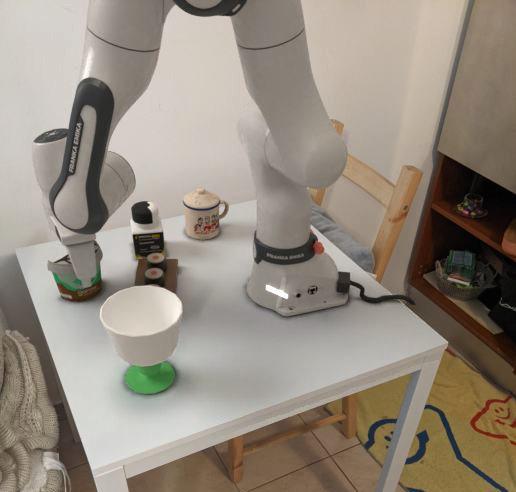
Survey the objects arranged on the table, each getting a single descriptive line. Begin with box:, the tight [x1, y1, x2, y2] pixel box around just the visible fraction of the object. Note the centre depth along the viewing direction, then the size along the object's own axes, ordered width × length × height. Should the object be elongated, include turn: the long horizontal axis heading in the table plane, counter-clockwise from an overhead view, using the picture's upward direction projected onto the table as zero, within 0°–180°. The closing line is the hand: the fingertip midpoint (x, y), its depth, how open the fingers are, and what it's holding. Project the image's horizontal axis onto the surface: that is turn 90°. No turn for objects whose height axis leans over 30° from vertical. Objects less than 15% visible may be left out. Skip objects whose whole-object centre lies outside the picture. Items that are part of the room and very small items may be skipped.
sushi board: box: [133, 253, 179, 295], centre depth 120 cm, size 9×20×5 cm, turn 4°
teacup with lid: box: [182, 187, 230, 241], centre depth 138 cm, size 12×9×12 cm
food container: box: [46, 239, 104, 303], centre depth 117 cm, size 12×6×10 cm, turn 141°
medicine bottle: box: [129, 200, 166, 260], centre depth 130 cm, size 7×7×12 cm
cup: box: [99, 285, 184, 395], centre depth 97 cm, size 14×14×16 cm
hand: (82, 273), depth 117 cm, fingers open, 8 cm apart
